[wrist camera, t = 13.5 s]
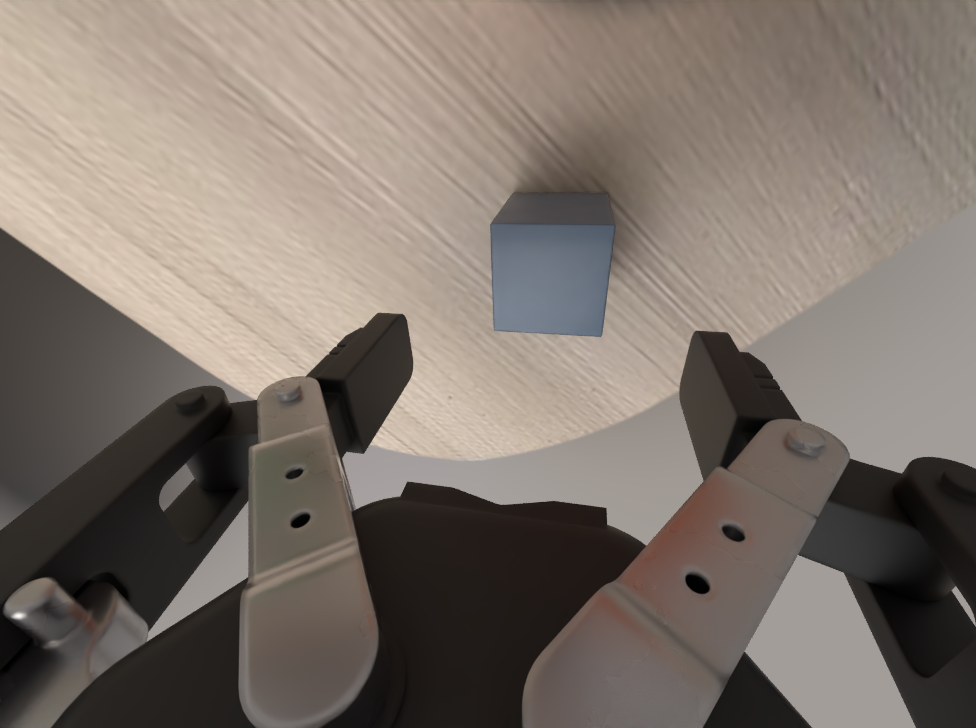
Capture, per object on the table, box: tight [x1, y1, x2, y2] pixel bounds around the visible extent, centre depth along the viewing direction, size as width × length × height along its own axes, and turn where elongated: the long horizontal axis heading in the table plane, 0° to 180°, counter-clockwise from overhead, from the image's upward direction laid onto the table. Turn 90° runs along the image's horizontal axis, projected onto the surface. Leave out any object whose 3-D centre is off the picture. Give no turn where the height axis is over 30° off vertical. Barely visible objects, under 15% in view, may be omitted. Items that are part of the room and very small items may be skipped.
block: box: [490, 193, 615, 337], centre depth 19 cm, size 4×4×6 cm
